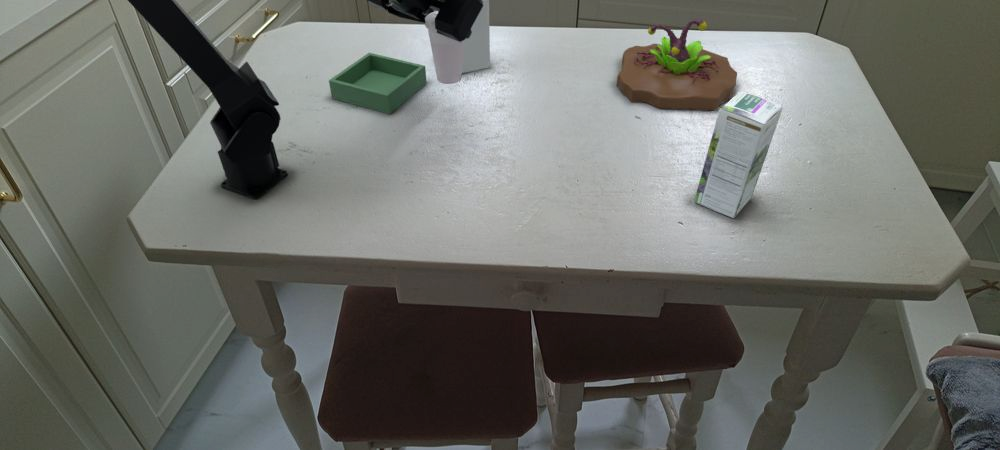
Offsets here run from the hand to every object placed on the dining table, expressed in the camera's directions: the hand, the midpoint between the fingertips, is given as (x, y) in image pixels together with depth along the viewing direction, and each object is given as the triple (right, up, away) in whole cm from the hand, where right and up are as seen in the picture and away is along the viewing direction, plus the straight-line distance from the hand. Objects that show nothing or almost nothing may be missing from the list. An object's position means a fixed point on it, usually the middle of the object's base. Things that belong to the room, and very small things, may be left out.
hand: (453, 28), depth 96 cm
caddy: (-13, -7, +12) cm, 19 cm away
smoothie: (-1, -7, +4) cm, 8 cm away
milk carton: (0, 0, +20) cm, 20 cm away
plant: (+37, -5, +15) cm, 40 cm away
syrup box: (+37, -26, -10) cm, 46 cm away
